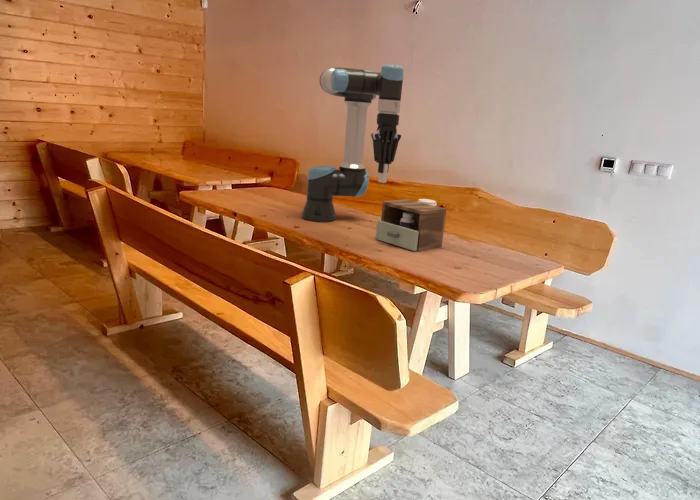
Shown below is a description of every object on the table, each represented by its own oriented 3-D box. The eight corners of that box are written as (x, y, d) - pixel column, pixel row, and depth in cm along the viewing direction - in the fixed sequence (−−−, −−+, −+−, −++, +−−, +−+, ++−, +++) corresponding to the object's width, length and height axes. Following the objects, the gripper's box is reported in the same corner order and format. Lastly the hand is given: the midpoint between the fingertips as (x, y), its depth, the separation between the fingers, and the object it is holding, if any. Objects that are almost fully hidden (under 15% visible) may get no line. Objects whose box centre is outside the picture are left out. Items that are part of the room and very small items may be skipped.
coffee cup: (417, 238, 211) (421, 202, 207) (410, 233, 219) (413, 198, 215) (436, 238, 213) (441, 202, 209) (428, 233, 221) (432, 198, 217)
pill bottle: (413, 240, 198) (416, 215, 195) (399, 239, 198) (402, 214, 195) (411, 236, 203) (414, 212, 201) (397, 235, 203) (400, 211, 200)
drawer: (371, 239, 202) (373, 221, 200) (399, 235, 213) (401, 217, 211) (409, 251, 188) (411, 232, 186) (437, 246, 199) (439, 228, 197)
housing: (379, 239, 205) (382, 201, 201) (402, 235, 215) (406, 199, 211) (418, 251, 191) (422, 211, 187) (441, 246, 201) (446, 208, 197)
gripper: (383, 112, 171) (376, 184, 177) (409, 114, 180) (402, 183, 186) (367, 111, 176) (361, 181, 182) (393, 113, 185) (387, 180, 191)
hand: (382, 182), depth 184 cm, fingers closed
